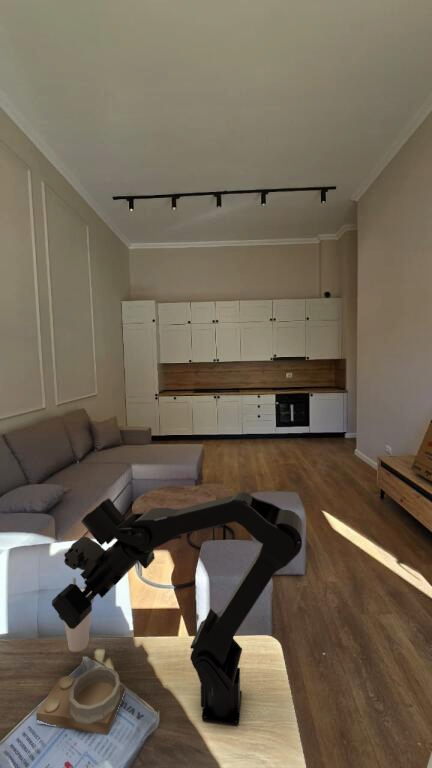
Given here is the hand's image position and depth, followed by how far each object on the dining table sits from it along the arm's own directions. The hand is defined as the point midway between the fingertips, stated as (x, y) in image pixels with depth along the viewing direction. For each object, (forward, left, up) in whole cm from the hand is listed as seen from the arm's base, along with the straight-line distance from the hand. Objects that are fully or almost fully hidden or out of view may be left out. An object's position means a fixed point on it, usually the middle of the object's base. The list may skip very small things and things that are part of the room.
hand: (71, 606), depth 73 cm
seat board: (-6, +8, -13) cm, 17 cm away
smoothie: (-1, 0, -8) cm, 8 cm away
